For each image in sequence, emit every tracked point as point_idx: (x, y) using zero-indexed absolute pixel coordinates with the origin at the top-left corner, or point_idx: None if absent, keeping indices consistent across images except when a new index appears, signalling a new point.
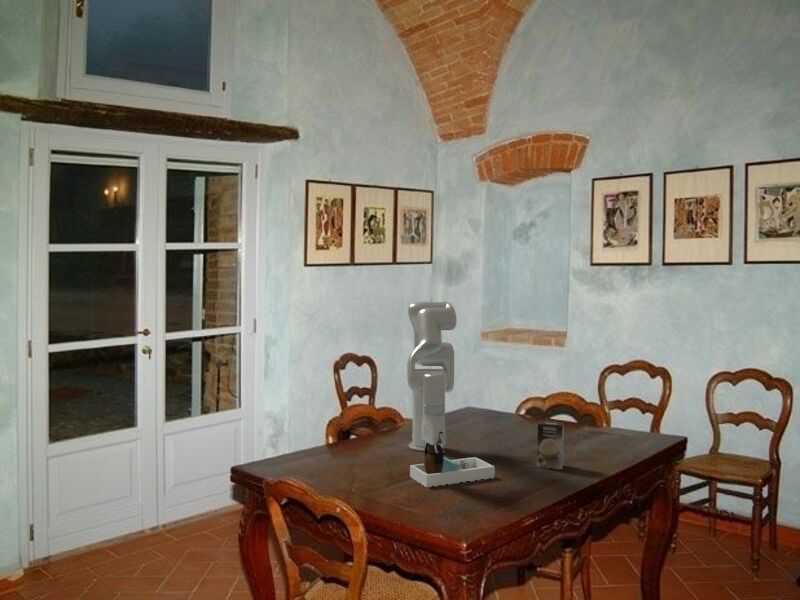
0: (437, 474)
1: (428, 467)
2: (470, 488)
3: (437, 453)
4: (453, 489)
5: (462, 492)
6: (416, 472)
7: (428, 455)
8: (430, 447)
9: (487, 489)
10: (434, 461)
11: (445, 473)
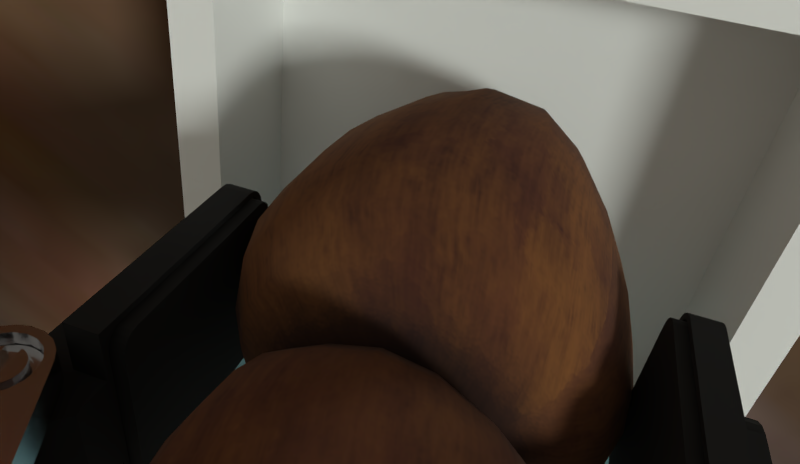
0: (175, 72)
1: (396, 109)
2: (96, 237)
3: (70, 356)
4: (107, 98)
5: (8, 106)
6: None
7: (352, 261)
8: (183, 462)
9: (46, 308)
10: (226, 213)
11: (186, 195)
